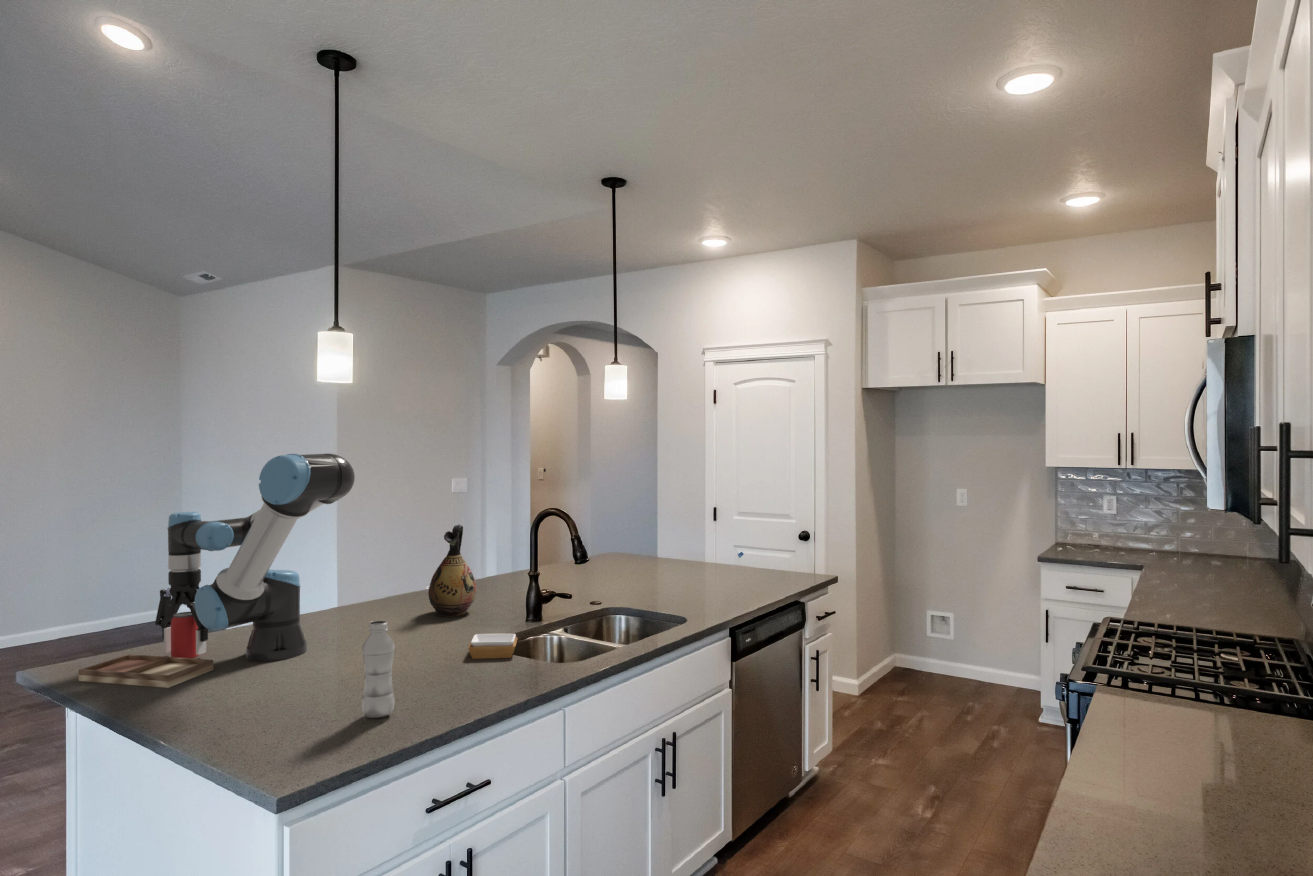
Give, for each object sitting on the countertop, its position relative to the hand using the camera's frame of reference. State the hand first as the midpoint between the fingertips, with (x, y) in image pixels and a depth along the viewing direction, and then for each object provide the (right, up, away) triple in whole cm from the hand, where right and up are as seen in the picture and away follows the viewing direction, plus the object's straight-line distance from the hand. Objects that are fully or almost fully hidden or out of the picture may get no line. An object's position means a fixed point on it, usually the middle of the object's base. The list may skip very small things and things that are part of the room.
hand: (185, 652), depth 209 cm
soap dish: (+83, -2, +2) cm, 83 cm away
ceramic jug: (+60, -1, +50) cm, 78 cm away
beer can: (0, -2, 0) cm, 2 cm away
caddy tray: (0, -2, -15) cm, 15 cm away
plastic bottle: (+68, -2, -44) cm, 81 cm away
